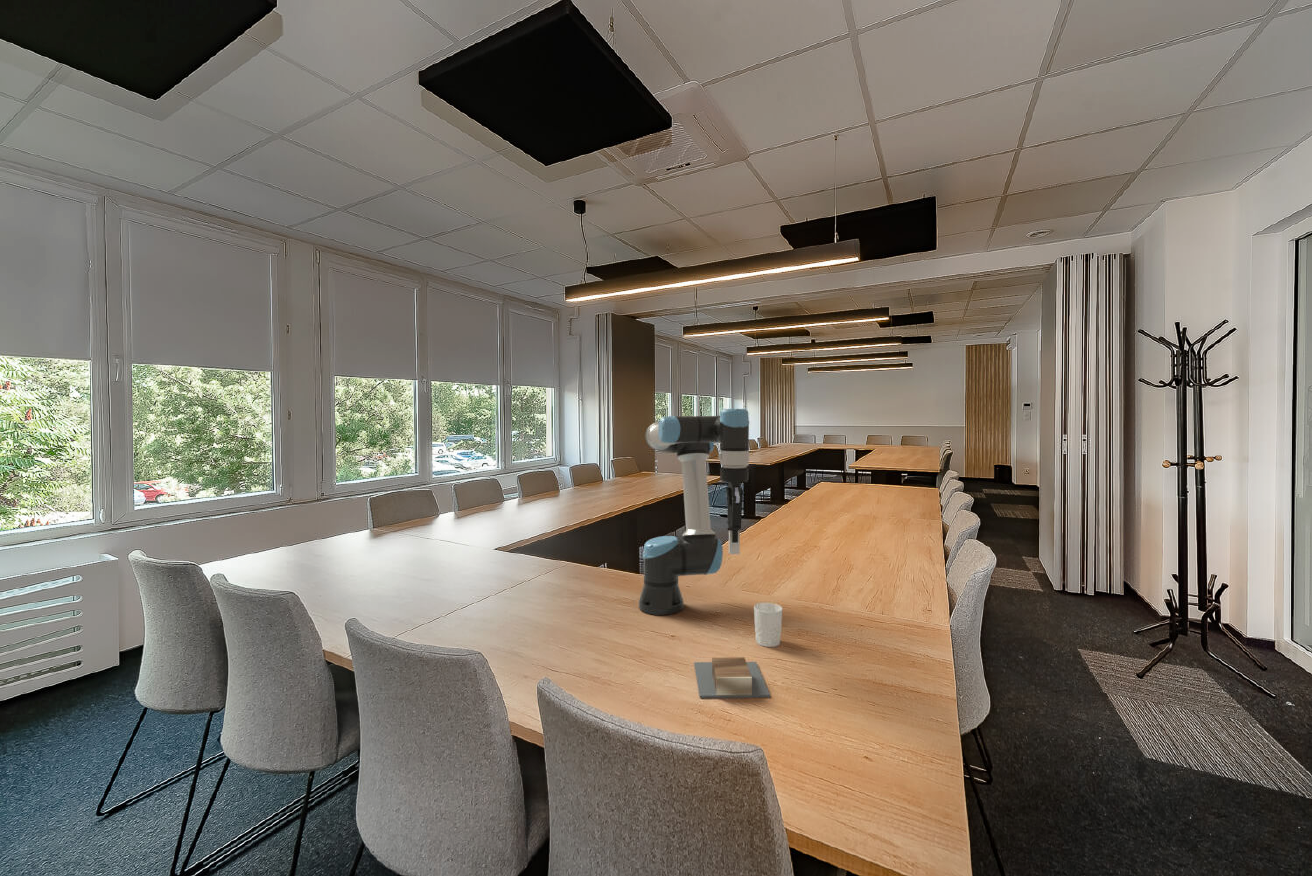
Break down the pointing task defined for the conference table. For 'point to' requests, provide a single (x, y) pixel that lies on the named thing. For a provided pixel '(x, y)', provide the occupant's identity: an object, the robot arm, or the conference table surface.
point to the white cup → (768, 624)
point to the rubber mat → (709, 691)
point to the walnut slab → (731, 676)
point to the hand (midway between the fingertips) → (734, 553)
